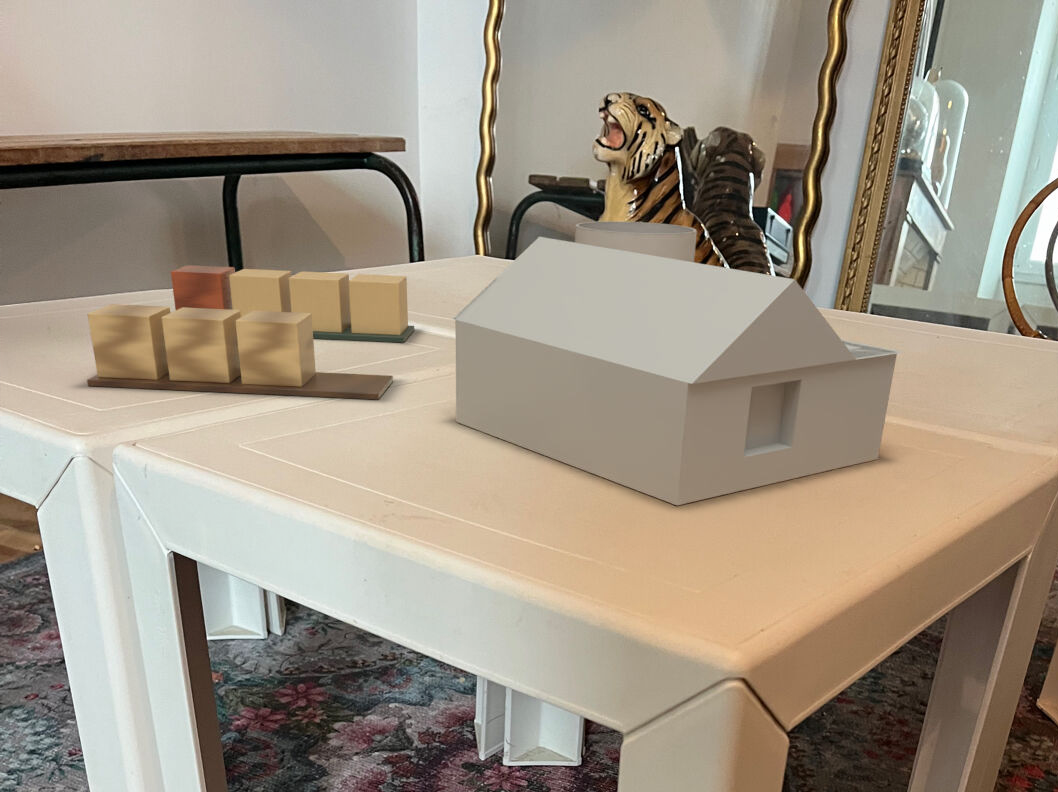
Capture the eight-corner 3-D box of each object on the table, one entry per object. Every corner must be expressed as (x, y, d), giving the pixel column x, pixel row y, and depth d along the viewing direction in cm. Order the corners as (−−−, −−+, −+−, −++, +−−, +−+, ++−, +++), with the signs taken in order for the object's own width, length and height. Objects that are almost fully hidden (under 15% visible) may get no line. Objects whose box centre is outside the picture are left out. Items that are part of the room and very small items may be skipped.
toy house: (454, 420, 86) (452, 239, 80) (651, 391, 98) (663, 231, 92) (680, 506, 70) (700, 287, 63) (885, 459, 82) (920, 269, 75)
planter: (611, 345, 116) (617, 234, 111) (550, 324, 126) (553, 222, 120) (710, 338, 122) (721, 232, 117) (645, 319, 131) (652, 220, 126)
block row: (168, 331, 114) (160, 273, 111) (190, 320, 120) (184, 264, 117) (403, 342, 113) (401, 284, 111) (414, 330, 119) (412, 275, 117)
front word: (87, 386, 92) (75, 315, 89) (120, 368, 98) (109, 301, 95) (378, 399, 92) (375, 328, 89) (393, 381, 98) (390, 314, 95)
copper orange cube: (177, 324, 114) (170, 271, 112) (193, 316, 119) (186, 265, 116) (225, 326, 114) (220, 273, 112) (239, 318, 119) (234, 267, 116)
